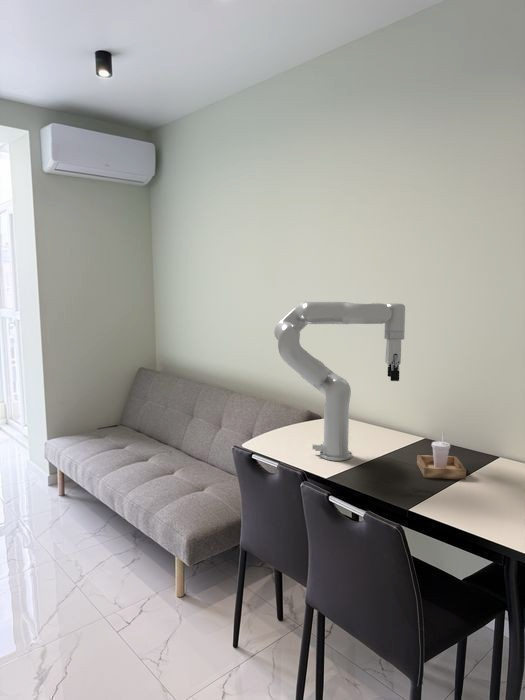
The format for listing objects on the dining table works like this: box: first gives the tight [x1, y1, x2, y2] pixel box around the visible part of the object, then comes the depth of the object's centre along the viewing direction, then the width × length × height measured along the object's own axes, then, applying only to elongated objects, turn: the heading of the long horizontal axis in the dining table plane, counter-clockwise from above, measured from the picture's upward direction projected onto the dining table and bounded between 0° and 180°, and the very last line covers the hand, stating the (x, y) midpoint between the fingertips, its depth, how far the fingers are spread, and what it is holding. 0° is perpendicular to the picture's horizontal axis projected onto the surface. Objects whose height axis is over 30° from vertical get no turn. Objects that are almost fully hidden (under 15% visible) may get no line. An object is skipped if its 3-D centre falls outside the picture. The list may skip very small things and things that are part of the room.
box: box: [416, 454, 467, 480], centre depth 182 cm, size 14×14×4 cm
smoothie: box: [431, 431, 451, 468], centre depth 181 cm, size 6×6×14 cm
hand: (393, 378), depth 199 cm, fingers open, 9 cm apart
